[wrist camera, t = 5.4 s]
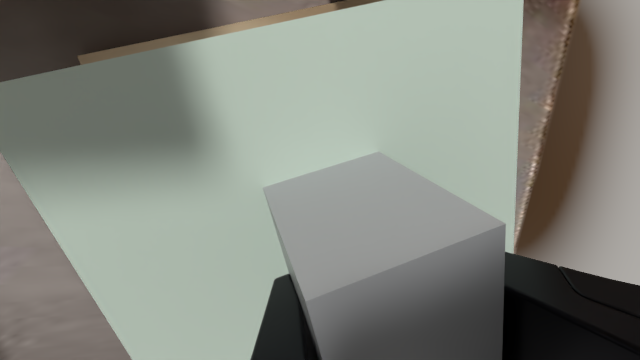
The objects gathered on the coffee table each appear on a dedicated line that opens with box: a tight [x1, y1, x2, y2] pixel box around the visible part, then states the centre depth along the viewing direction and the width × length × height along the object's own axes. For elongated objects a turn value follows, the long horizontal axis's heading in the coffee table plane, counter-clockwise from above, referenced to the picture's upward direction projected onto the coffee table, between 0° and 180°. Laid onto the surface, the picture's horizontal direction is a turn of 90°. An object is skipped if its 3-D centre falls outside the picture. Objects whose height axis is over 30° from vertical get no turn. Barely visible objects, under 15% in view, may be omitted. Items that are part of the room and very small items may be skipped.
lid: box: [0, 0, 523, 360], centre depth 8 cm, size 12×12×6 cm
